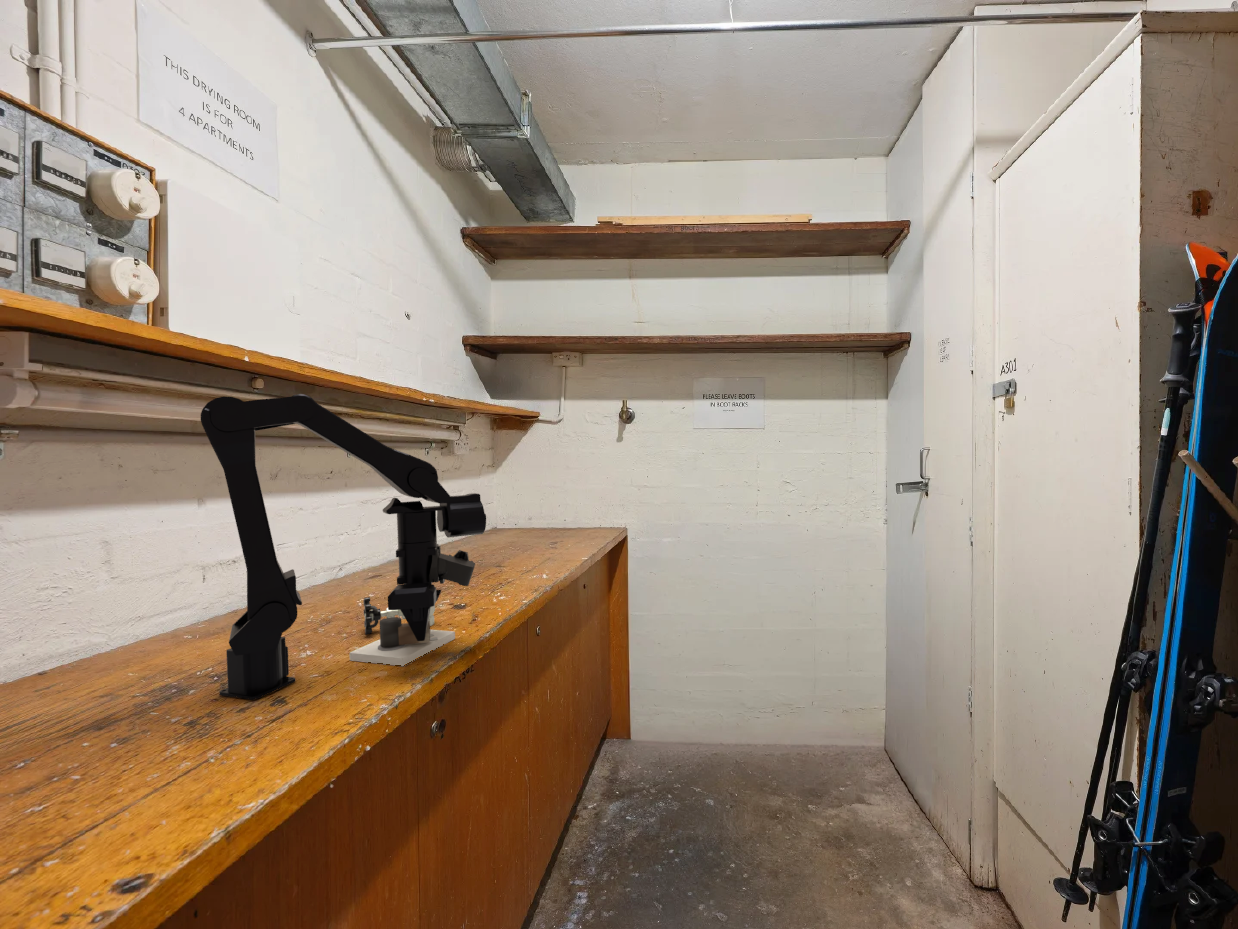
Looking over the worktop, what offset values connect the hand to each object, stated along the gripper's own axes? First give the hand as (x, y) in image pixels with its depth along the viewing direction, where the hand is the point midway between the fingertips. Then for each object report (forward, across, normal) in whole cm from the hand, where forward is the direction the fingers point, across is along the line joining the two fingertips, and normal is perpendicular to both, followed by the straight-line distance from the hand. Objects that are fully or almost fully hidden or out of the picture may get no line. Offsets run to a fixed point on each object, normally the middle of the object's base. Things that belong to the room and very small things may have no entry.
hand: (421, 640), depth 88 cm
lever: (+1, +2, +3) cm, 4 cm away
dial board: (+2, +4, +3) cm, 6 cm away
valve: (+3, +16, +6) cm, 17 cm away
